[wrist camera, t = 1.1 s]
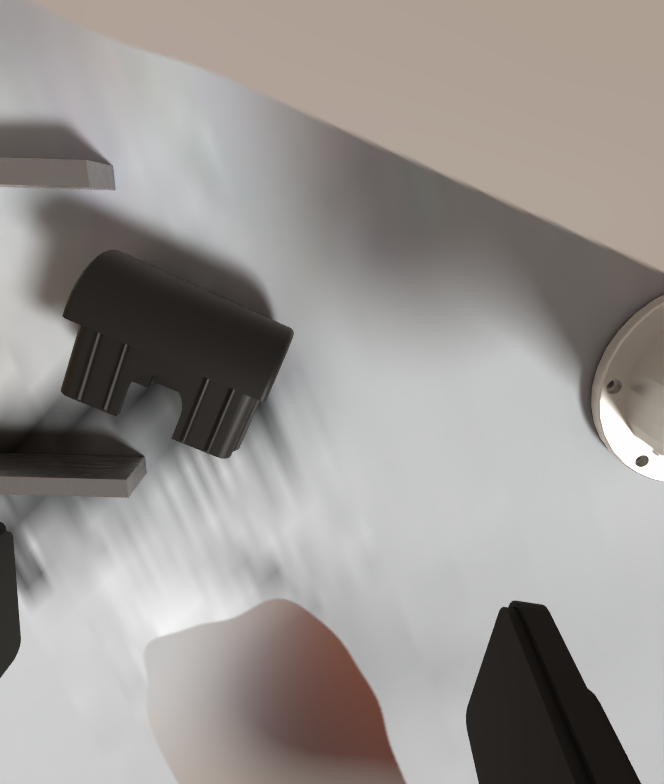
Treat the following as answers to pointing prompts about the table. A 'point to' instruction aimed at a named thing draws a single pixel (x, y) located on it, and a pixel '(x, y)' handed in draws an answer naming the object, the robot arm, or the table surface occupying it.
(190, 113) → the table surface
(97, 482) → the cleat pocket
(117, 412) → the end cap
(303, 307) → the table surface
